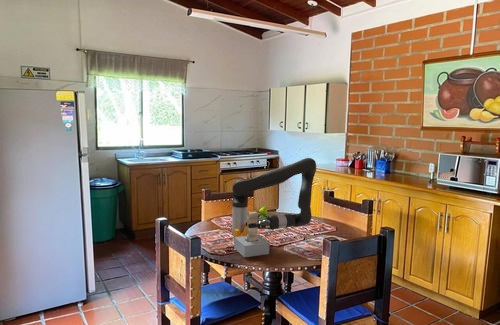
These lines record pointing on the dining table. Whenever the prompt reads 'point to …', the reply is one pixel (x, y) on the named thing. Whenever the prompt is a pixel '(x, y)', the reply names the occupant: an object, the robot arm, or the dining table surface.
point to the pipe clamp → (244, 233)
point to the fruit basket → (262, 213)
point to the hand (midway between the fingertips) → (247, 225)
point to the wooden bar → (251, 231)
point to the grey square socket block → (251, 246)
